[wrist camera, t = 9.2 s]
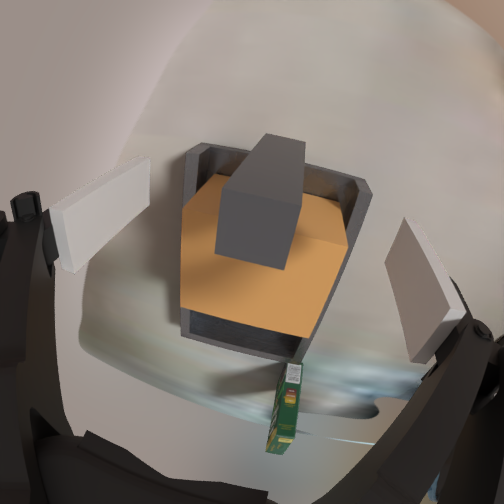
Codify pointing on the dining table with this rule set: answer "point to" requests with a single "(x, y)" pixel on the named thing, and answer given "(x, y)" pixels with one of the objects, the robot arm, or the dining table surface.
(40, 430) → the robot arm
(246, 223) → the grey and orange block
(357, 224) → the bay
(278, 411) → the coffee box
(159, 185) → the dining table surface
